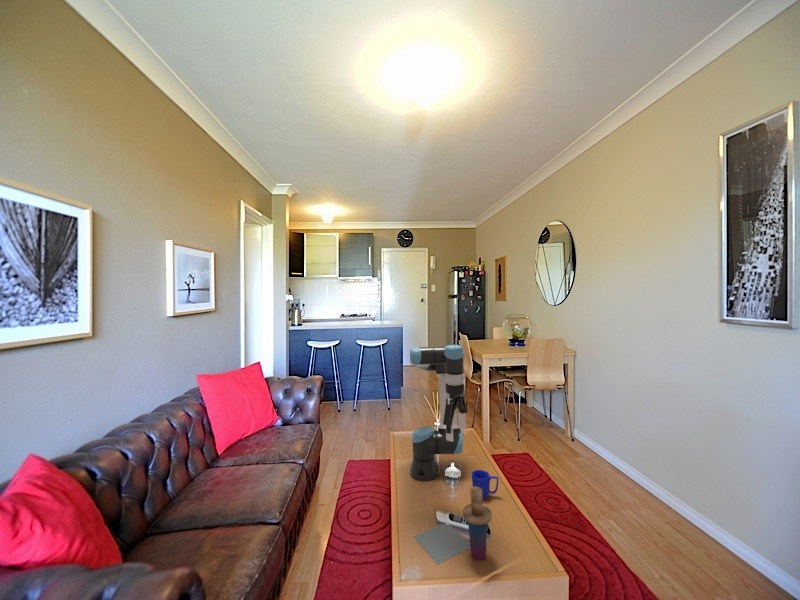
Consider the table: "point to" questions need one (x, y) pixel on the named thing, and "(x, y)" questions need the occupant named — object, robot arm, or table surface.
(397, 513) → the table surface
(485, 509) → the lid
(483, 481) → the mug
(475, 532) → the cup
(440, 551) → the mat
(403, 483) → the table surface
